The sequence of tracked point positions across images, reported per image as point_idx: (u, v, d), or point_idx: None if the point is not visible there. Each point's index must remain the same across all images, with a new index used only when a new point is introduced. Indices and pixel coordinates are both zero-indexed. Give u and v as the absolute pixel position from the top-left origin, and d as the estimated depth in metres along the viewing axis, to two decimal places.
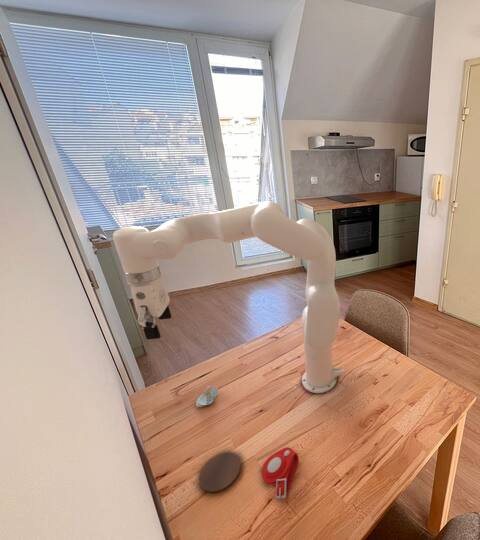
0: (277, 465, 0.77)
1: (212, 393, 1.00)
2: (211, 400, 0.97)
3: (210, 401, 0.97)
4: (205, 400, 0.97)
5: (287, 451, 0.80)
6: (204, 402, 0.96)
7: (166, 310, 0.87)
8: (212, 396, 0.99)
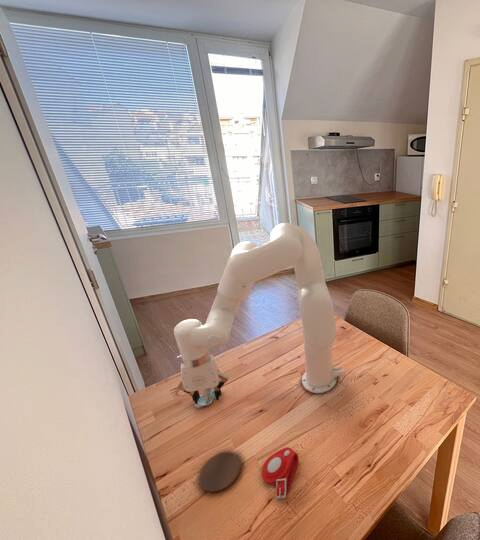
0: (277, 465, 0.77)
1: (211, 393, 1.00)
2: (210, 400, 0.97)
3: (209, 401, 0.97)
4: (204, 400, 0.97)
5: (287, 451, 0.80)
6: (203, 402, 0.96)
7: None
8: (211, 396, 0.99)
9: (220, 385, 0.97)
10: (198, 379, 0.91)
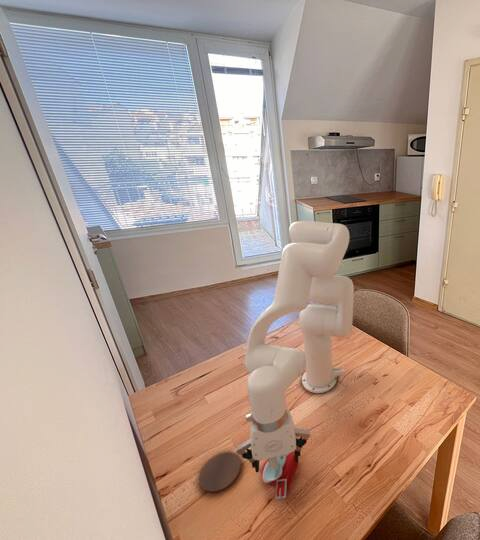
0: None
1: (279, 458, 0.76)
2: (280, 469, 0.74)
3: (279, 471, 0.73)
4: (273, 471, 0.74)
5: None
6: (272, 475, 0.73)
7: None
8: (280, 463, 0.75)
9: (302, 443, 0.73)
10: (272, 445, 0.68)
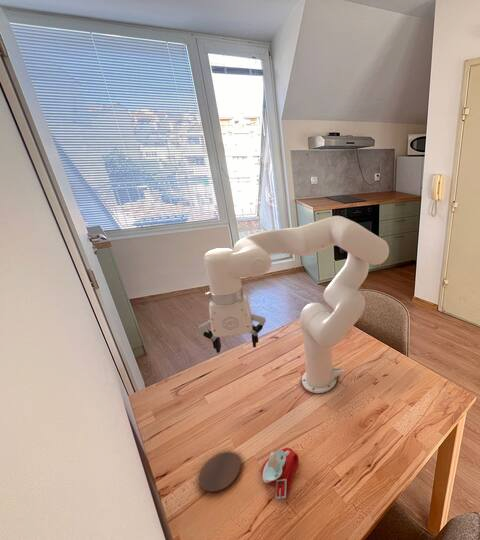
0: None
1: (279, 458, 0.76)
2: (280, 469, 0.74)
3: (279, 471, 0.73)
4: (273, 471, 0.74)
5: (287, 451, 0.80)
6: (272, 475, 0.73)
7: (252, 338, 0.83)
8: (280, 463, 0.75)
9: (258, 329, 0.83)
10: (229, 321, 0.77)
